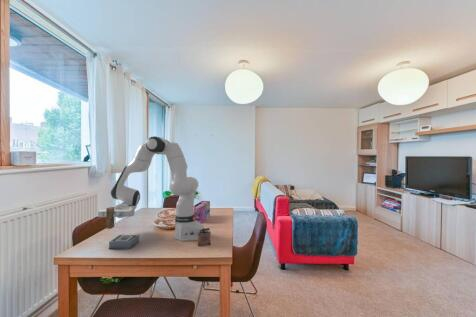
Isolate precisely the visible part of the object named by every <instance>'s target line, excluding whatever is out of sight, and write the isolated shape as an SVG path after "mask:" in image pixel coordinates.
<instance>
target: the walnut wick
mask: <svg viewBox="0 0 476 317" xmlns="http://www.w3.org/2000/svg"><path fill="white" fill-rule="evenodd" d="M114 207H115V206H109V207H106V208H105V209H106V217H105V218H106V229H107V230H111V229H113V228H115V217H112V214H114Z"/></svg>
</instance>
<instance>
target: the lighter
mask: <svg viewBox="0 0 476 317" xmlns="http://www.w3.org/2000/svg"><path fill="white" fill-rule="evenodd" d="M210 229H211V228H209V227H207V228H206V227H204V228H202V229H200V232H199V233H198V240H197V247H206V246H207V247H208V246H211V245H212V244H211V243H212V242H211V234H212V232H211V231H210Z"/></svg>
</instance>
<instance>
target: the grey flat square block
mask: <svg viewBox="0 0 476 317" xmlns="http://www.w3.org/2000/svg"><path fill="white" fill-rule="evenodd" d="M139 242H140V234H118V235H117V236H115V237H114V238H112V239H111V240H109V242H108V249H109V250H131V249H132V248H133V247H134V246H135V245H137V243H139Z"/></svg>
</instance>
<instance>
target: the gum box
mask: <svg viewBox="0 0 476 317" xmlns="http://www.w3.org/2000/svg"><path fill="white" fill-rule="evenodd" d="M193 214H194V215H196V220H197V221H198V222H199V223H201V224H203V223H205V221H207V219H209V218H210V217H211V201H210V200H201V201H200V202H198V203H196V204H195V205H194V204H193ZM208 217H209V218H208Z"/></svg>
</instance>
